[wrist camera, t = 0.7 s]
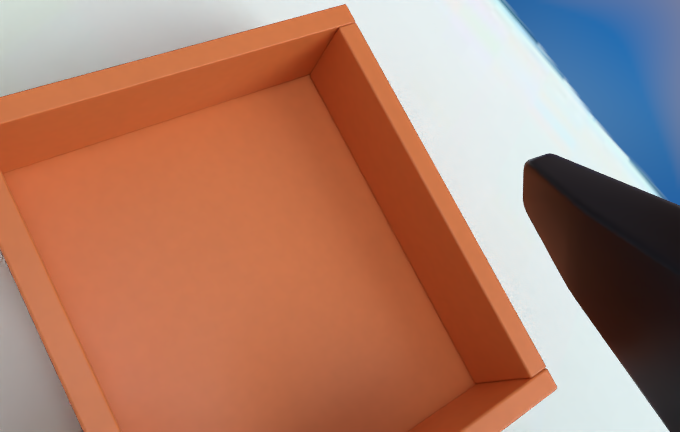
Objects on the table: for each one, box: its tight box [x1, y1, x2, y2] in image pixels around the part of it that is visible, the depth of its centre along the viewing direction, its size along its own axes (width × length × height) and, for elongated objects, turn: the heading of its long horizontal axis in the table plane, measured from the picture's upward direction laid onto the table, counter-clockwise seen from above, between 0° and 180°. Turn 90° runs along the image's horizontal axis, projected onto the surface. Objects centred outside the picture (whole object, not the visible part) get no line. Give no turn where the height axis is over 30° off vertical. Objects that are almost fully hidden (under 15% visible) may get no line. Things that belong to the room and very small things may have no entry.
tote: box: [0, 4, 557, 432], centre depth 21 cm, size 16×14×4 cm
